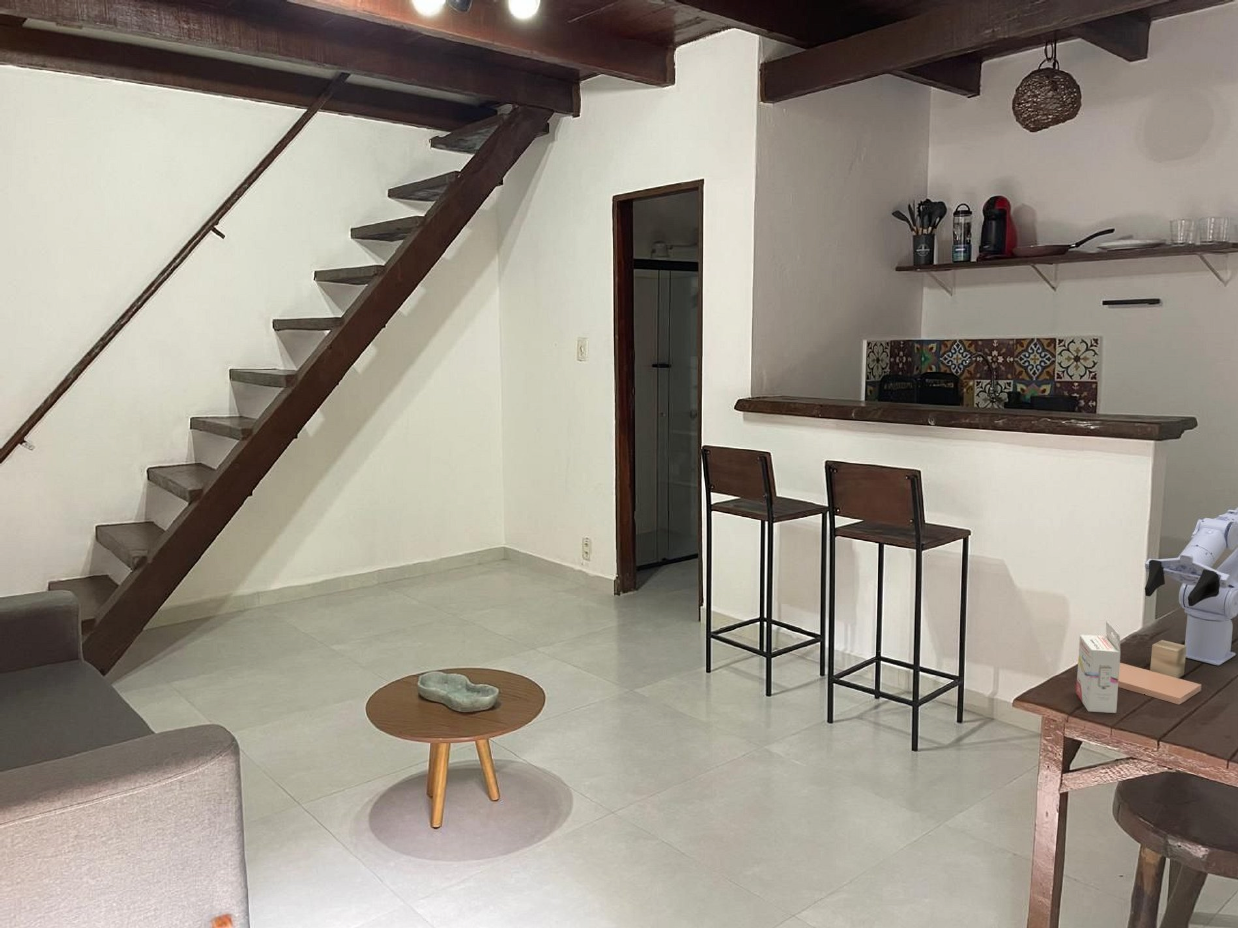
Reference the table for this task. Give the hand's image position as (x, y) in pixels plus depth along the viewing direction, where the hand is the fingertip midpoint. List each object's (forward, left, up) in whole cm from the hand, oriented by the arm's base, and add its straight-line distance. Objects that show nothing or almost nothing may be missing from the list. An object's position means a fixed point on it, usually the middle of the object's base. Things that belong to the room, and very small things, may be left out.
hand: (1168, 596), depth 178 cm
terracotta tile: (+5, -1, -17) cm, 17 cm away
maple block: (-4, -1, -17) cm, 17 cm away
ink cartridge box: (+21, -3, -17) cm, 27 cm away
